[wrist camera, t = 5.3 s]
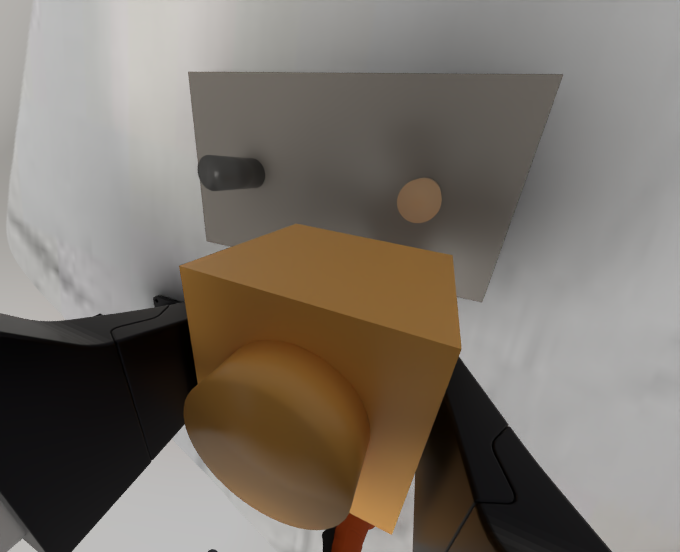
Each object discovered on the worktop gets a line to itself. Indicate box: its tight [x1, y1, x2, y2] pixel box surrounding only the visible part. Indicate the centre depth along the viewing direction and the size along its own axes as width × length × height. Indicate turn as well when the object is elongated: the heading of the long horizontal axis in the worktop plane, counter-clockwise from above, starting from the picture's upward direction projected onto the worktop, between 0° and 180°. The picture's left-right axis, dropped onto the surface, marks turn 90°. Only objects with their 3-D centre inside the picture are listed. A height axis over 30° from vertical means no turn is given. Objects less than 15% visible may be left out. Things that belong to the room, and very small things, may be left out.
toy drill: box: [208, 513, 375, 552], centre depth 23 cm, size 5×19×15 cm, turn 30°
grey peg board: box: [188, 72, 563, 302], centre depth 16 cm, size 22×12×6 cm, turn 85°
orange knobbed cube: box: [179, 224, 461, 535], centre depth 8 cm, size 6×6×6 cm
